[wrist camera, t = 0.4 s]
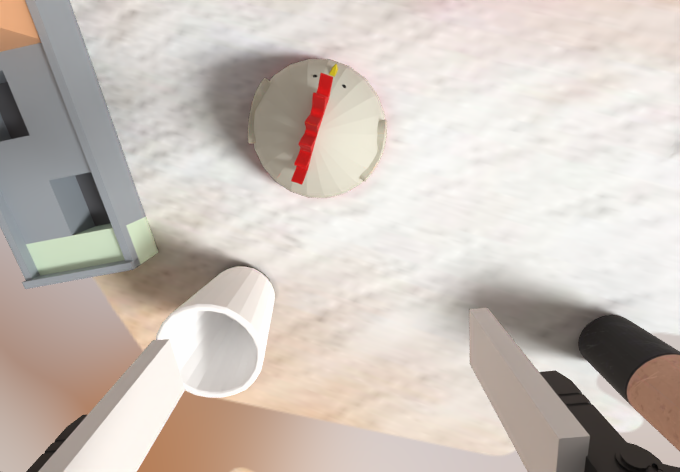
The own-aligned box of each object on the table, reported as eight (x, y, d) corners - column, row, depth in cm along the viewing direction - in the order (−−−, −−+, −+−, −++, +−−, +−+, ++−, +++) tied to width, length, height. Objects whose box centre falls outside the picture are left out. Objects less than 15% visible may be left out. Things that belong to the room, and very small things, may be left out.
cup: (277, 250, 43) (252, 298, 31) (291, 322, 46) (273, 393, 34) (196, 259, 43) (140, 311, 31) (215, 331, 46) (169, 403, 34)
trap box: (-60, -9, 35) (-130, -33, 30) (56, -37, 35) (5, -66, 29) (63, 269, 44) (25, 289, 39) (158, 252, 43) (132, 269, 38)
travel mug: (618, 301, 45) (825, 431, 26) (647, 342, 46) (862, 493, 27) (564, 336, 46) (722, 483, 27) (594, 374, 48) (762, 539, 29)
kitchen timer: (402, 88, 38) (439, 64, 24) (360, 209, 42) (369, 253, 27) (275, 43, 37) (232, -12, 22) (243, 172, 41) (189, 196, 26)
